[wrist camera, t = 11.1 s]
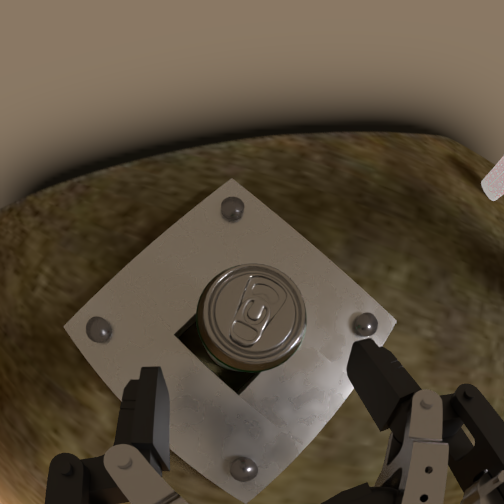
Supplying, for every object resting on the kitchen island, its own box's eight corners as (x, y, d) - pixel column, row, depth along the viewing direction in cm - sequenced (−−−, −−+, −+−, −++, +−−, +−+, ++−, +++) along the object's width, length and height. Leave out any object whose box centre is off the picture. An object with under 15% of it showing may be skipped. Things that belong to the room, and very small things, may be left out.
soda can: (276, 328, 23) (331, 288, 12) (248, 381, 21) (283, 393, 10) (223, 300, 23) (231, 235, 13) (193, 352, 21) (171, 334, 11)
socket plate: (230, 193, 28) (232, 174, 25) (382, 326, 24) (400, 319, 21) (76, 331, 20) (59, 325, 18) (242, 492, 17) (246, 507, 14)
